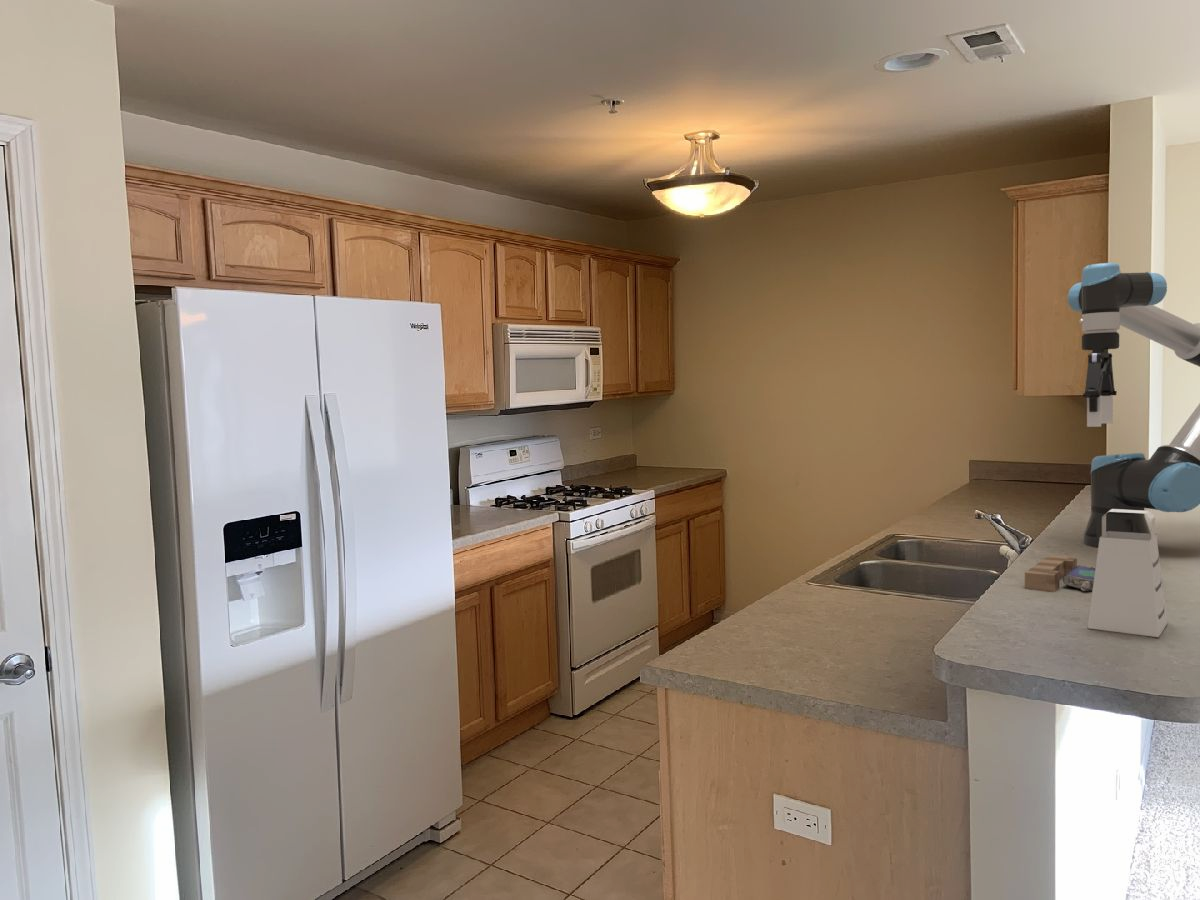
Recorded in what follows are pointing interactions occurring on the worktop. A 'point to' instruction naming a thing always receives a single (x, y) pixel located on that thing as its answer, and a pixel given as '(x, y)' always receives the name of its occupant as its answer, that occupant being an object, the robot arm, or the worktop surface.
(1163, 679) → the worktop surface
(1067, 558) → the holder
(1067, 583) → the flask
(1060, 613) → the worktop surface
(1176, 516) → the worktop surface
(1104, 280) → the robot arm
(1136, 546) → the grater
